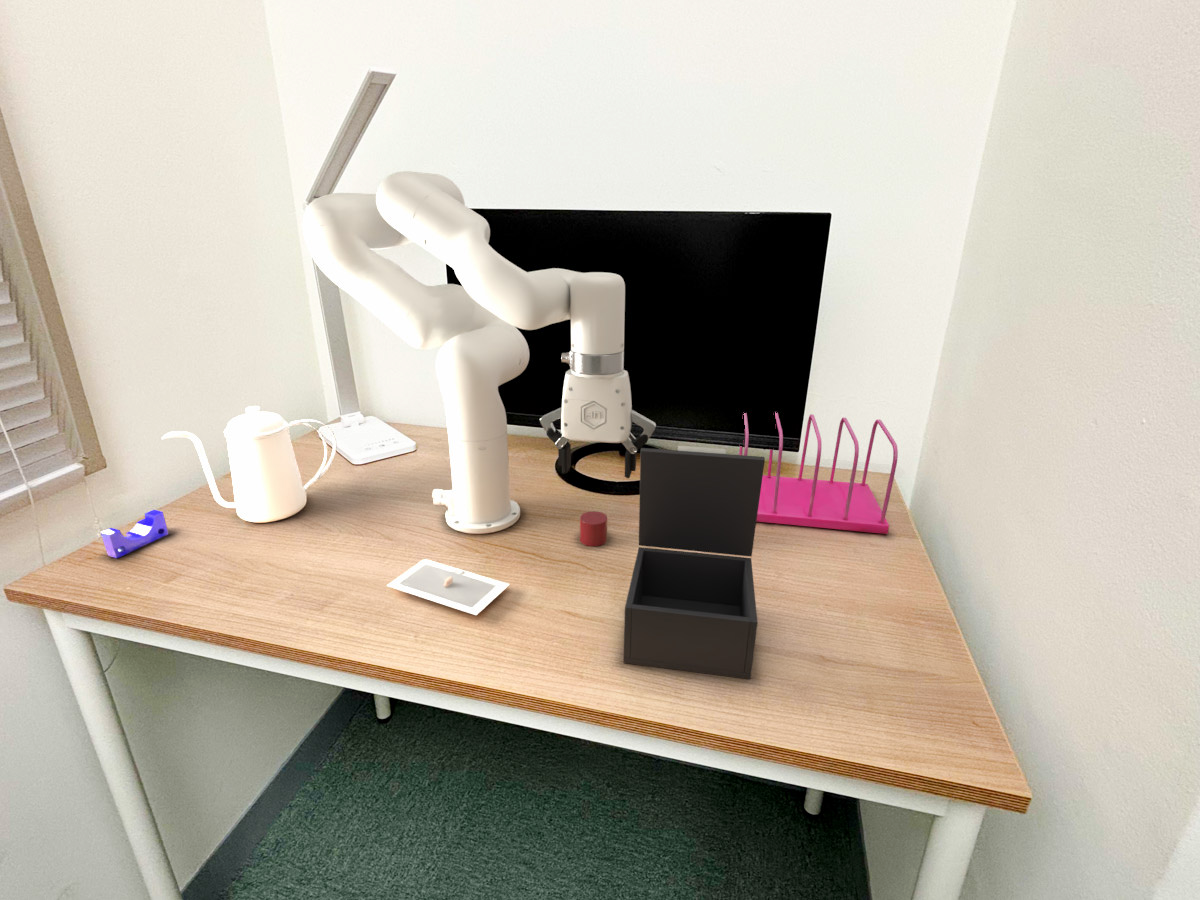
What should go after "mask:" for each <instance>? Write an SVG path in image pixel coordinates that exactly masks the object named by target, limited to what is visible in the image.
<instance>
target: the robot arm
mask: <svg viewBox="0 0 1200 900" xmlns="http://www.w3.org/2000/svg"><path fill="white" fill-rule="evenodd" d="M302 230H303V237H304V240H305V243H306V246H307V249H308V251H309V253H310V255H311V257H312V259H313V261H314V262H315V264H316V265H317V266H318V268H319V270H321V272H322V273H323V274H324V275H325V276H326V277H327V278H328V279H329V280H330V281H331V282H333V283H334V284H335V286H338V287H339V288H340V289H341V290H343V291H344V292H346V293H347V294H348V295H350V296H351V297H352V298H354V299H355V300H356V301H358V303H360V304H361V305H362V306H364V307H365V309H367V310H368V311H369V312H370V313H372V315H374V317H376V318H377V319H378V320H380V321H381V322H382V323H383V324H384V325H385V326H387V327H388V328H389V329H390V330H391V331H392V332H393V333H394V334H396V335H397V336H398V337H399V338H401V339H402V340H403V341H404V342H405V343H407V344H408V345H409V346H411V347H412V348H414V349H416V350H417V349H418V350H421V351H425V350H432V349H437V348H439V351H438V353H437V355H436V358H435V373H436V377H437V381H438V385H439V388H440V392H441V395H442V399H443V403H444V410H445V416H446V417H445V419H446V420H445V421H446V428H447V430H446V431H447V438H448V449H449V450H448V451H449V462H450V474H451V475H450V476H451V485H452V486H451V487H452V488H451V489H442V488H434V489H432V493H431V498H432V505H434V506H439V507H440V506H445V507H446V508H447V509H446V511H445V514H444V515H445V523H446V524H447V526H449V527H450V528H451V529H452V530H455V531H457V532H460V533H465V534H473V535H474V534H475V535H476V534H477V535H478V534H479V535H482V534H483V535H484V534H490V533H496V532H500V531H503V530H506V529H508V528H509V527H511V526H513V525H514V524H516V523H517V522H518V520H519V519H520V517H521V507H520V505H519V504H518V503H517V501H515V500H514V499H511V483H510V459H509V458H510V457H509V438H508V422H507V421H508V420H507V413H506V408H505V406H504V403H503V400H502V398H501V396H500V392H499V387H500V386H501V385H504V384H505V383H507V382H509V381H511V380H513V379H515V378H517V377H518V376H520V375H521V374H522V373H523V372H524V371H525V370H526V369H527V366H528V364H529V361H530V348H529V345H528V342H527V340H526V338H525V336H524V335H523V333H522V332H521V331H520V330H525V331H533V330H534V331H535V330H538V329H541V328H544V327H547V326H549V325H552V324H556V323H561V322H565V321H568V320H570V351H569V352H568V351H567V352H562V353H561V358H560V359H561V363H566V364H568V365H569V369H568V370H566V371H565V375H564V380H563V387H562V398H561V407H559V408H557V409H555V410H552V411H550V412H548V413H546V414H544V415H542V416H541V417H540V418H539V422H540V425H541V426H542V428H543V430H544V432H545V435H546V436H547V437H548V439H549V440H551V441H552V442H553V443H554V444H555V448H557V449H558V466H560V467H561V473H562V474H567V473H568V472H569V470H570V469H571V466H572V445H571V443H570V442H569V441H577V442H579V441H580V442H592V443H608V444H620V443H621V444H622V445H623V446H624V447H625V449H626V451H625V454H624V478H625V479H630V478H631V475H632V472H636V469H637V451H639V450H641V448H643V446H645V445H646V444H647V443H648V441H649V439H650V438H651V436H652V435H653V433H654V432H655V430H656V427H657V424H656V422H655V421H653V420H651V419H649V418H647V417H646V416H645V415H642V414H640V413H638V412H637V411H636V410H634V409H633V405H632V403H633V402H632V390H631V382H630V375H629V372H628V370H625V368H624V366H625V321H626V319H625V317H626V316H625V312H626V283H625V281H624V278H623V277H622V276H621V275H620V274H617V273H613V272H604V271H589V272H581V271H575V270H570V269H565V268H559V267H557V268H556V267H552V268H546V269H539V270H538V269H537V270H532V271H526V270H524V269H522V268H521V267H519V266H517V264H514V263H513V262H512V261H509V260H508V259H507V258H505V257H504V256H502V255H501V254H500V253H498V251H496V250H495V249H494V248H493V247H492V246H491V245H490V244H489V243H490V237H491V228H490V224H489V222H488V220H487V219H486V218H484V216H482V215H481V214H479V213H477V212H476V211H474V210H473V209H471V208H470V207H468V206H466V204H465V199H464V196H463V193H462V191H461V189H460V187H459V186H458V185H457V184H456V183H455V182H454V180H451V179H450V178H448V177H446V176H444V175H442V174H440V173H439V174H438V173H429V172H421V171H420V172H419V171H410V170H409V171H408V170H405V171H396V172H394V173H390V174H389V175H388V176H386V177H385V178H383V180H382V181H381V182H380V183H379V185H378V187H377V189H376V193H363V192H362V193H360V192H334V193H327V194H325V195H324V194H323V195H321V196H319V197H317V198H315V199H313V200H312V201H311V202H310V203H308V205H307V207H306V208H305V210H304V212H303V216H302ZM413 243H415V244H417V245H418V246H420V247H422V248H423V249H424V250H425V251H427V252H428V253H430V254H432V255H433V256H434V257H436V258H437V259H438V260H440V261H442V262H443V263H444V264H446V265H448V266H449V267H450V268H452V270H454V274H455V276H456V278H457V280H458V281H459V282H460V284H461V285H459V284H455V283H444V284H437V285H426V284H424V283H422V282H420V281H419V280H418V279H416V278H415V277H414V276H412V275H411V274H409V273H408V272H407V271H406V270H405V269H404V268H403V267H401V266H400V265H399V264H398V263H396V262H394V261H393V260H392V259H390V258H387V257H385V255H382V254H380V253H379V252H377V251H374V250H384V249H393V248H399V247H402V246H405V245H408V244H413ZM519 329H520V330H519ZM559 419H560V430H559V429H557V428H556V427H555V426H554V423H553V422H555V421H557V420H559ZM633 423H634V424H635V425H637V426H639V427H641V428H642V429H643V431H642V432H641V433H640V434H639V435H638V436H637V437H635V436H634V434H633V433H632V432H631V431H632V427H633ZM560 431H561V432H560Z"/></svg>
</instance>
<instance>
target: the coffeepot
mask: <svg viewBox="0 0 1200 900" xmlns="http://www.w3.org/2000/svg"><path fill="white" fill-rule="evenodd" d="M309 423H317V424H319V425H323V426H324V427H326V428H327V429H328V431H329V433H330V435H331V437H332V451H331V455H330V457H329V460H328V455H329V451H328V445H327V441H326V439H325V437H324V435H323V434H322V433H321V431H319V430H318V429H317V428H316V427H314V426H313V425H311V424H309ZM297 425H298V426H299V425H300V426H306V427H309V428H312V429H314V430H315V431H316V432H317V433H318V435H319V436H320V438H321V440H322V444H323V449H324V454H323V455H324V456H323V460H322V463H321V465H320V467H319V469H318V470H317V472H316V474H315V475H314V476H313V477H312V478H311V479H309V480H308V481H307V483H306V484H303V480H302V477H301V473H300V469H299V466H298V462H297V458H296V454H295V451H294V447H293V443H292V440H291V431H290V427H294V426H297ZM223 433H224V437H225V438H226V442H227V443H226V445H227V451H228V457H229V466H230V472H231V480H232V487H233V495H234V496H233V497H234V502H228V501H225V500H224V499H223V498H222V496H221V495H220V492H219V490H218V487H217V485H216V481H215V478H214V475H213V472H212V470H211V467H210V464H209V461H208V458H207V455H206V451H205V450H204V447H203V444H202V441H201V440H200V439H199V437H198V436H197V435H195V434H194V433H192V432H189V431H184V430H181V431H180V430H177V431H170V432H167V433H166V434H164V435H163V436H162V437H161V440H164V439H171V438H172V439H173V438H187V439H189V440H191V441H192V442H193V444H194V447H195V449H196V451H197V454H198V456H199V457H198V458H199V460H200V462H201V465H202V468H203V472H204V474H205V478H206V480H207V482H208V486H209V488H210V491H211V494H212V496H213V499H214V500H215V501H216V503H218V505H220V506H222V507H223V508H226V509H235V510H236V514H237V516H238V517H239V518H240V519H242V520H243V521H247V522H250V523H271V522H276V521H281V520H285V519H287V518H289V517H292V516H294V515H296V514H297V513H299V512H300V511H302V510H303V509H304V507H305V506H306V504H307V496H308V494H307V489H308V488H309V487H311V486H312V485H314V484H315V483H317V482H318V481H319V480H320V479H321V478H322V477H323V476H324V475H325V474H326V473H327V471H328V470H329V469H330V467H331V466H332V464H333V462H334V460H335V457H336V454H337V453H336V452H337V439H336V435H335V433H334V431H332V429H331V428H330V427H329V426H328V425H327V424H325V423H323V422H321V421H319V420H316V419H310V418H309V419H298V420H294V421H290V422H288V421H286V419H284V418H283V417H282V416H281V414H278V413H276V412H271V411H261V407H260V406H259V405H253V406H247V407H246V408H245V413H244V414H241V415H238V416H236V417H233V418H232V419H230V421H228V423H227V426H226V428H225V429H224V431H223Z"/></svg>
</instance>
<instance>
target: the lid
mask: <svg viewBox="0 0 1200 900" xmlns="http://www.w3.org/2000/svg"><path fill="white" fill-rule="evenodd" d="M639 459H640V461H639V462H640V463H639V469H640V470H639V504H638V505H639V509H638V510H639V511H638V520H639V521H638V546H639V547H648V548H658V549H668V550H678V551H688V552H699V553H709V554H719V555H729V556H739V557H752V556H753V549H754V543H755V536H756V535H755V534H756V527H757V522H758V521H757V513H758V506H759V499H760V491H761V484H762V477H763V475H764V470H765V469H764V468H765V461H766V460H765V459H766V457H765V456H757V455H747V456H745V455H744V454H742V455H739V454H729V453H727V448H718V447H708V446H707V447H705V446H692V445H689V446H688V445H678V446H677V450H676V449H675V450H674V449H661V448H649V447H647V448H646V447H641V448H640V457H639Z"/></svg>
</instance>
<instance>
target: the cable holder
mask: <svg viewBox="0 0 1200 900" xmlns="http://www.w3.org/2000/svg"><path fill="white" fill-rule="evenodd" d="M169 533H170V532H169V529H168V526H167V521H166V519H165V515H164V512H163V511H160V510H157V509H152V510H150V511H147V512H146V513H144V518H143V519H140V520H138V521H137V522H136V523H135V526H134V527H133V528H131V530H129V531H127V532H126V533H125V534H126V536H125V535H124V534H123V533H122V531H121V529H118V528H117V529H116V528H113V527H110V528H107V529H105V530H101V531H100V537H101V538H102V542H103V545H104V548H105V551H106V554H107V556H108V557H110V558H114V559H118V558H121V557H123V556H125V555H128V554H130V553H132V552H134V551H136V550H138V549H140V548H142V547H144V546H147V545H148V544H151V543H153V542H155V541H157V540H160V539H162V538H163V537H166V536H168V535H169Z"/></svg>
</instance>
